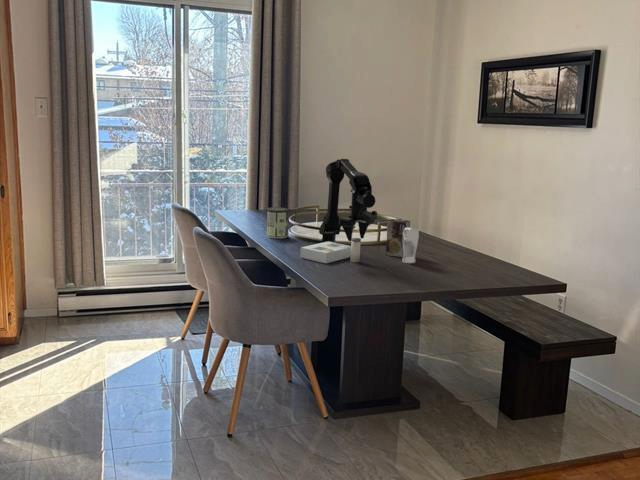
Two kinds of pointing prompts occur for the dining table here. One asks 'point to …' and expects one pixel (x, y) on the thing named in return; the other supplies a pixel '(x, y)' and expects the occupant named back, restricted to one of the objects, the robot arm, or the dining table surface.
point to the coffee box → (395, 237)
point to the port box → (326, 252)
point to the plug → (355, 249)
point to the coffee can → (277, 222)
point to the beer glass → (410, 244)
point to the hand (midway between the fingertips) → (355, 239)
